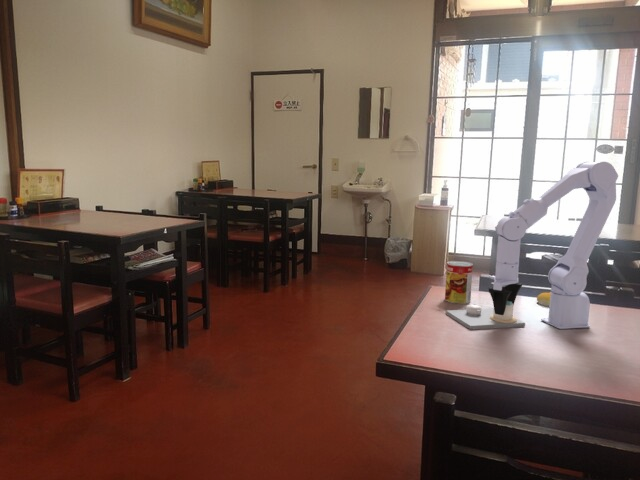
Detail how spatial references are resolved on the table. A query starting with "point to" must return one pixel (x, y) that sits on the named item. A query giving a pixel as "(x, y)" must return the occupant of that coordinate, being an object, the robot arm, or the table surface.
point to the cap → (505, 313)
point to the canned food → (458, 282)
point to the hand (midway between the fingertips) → (503, 311)
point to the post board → (481, 318)
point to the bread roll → (544, 299)
